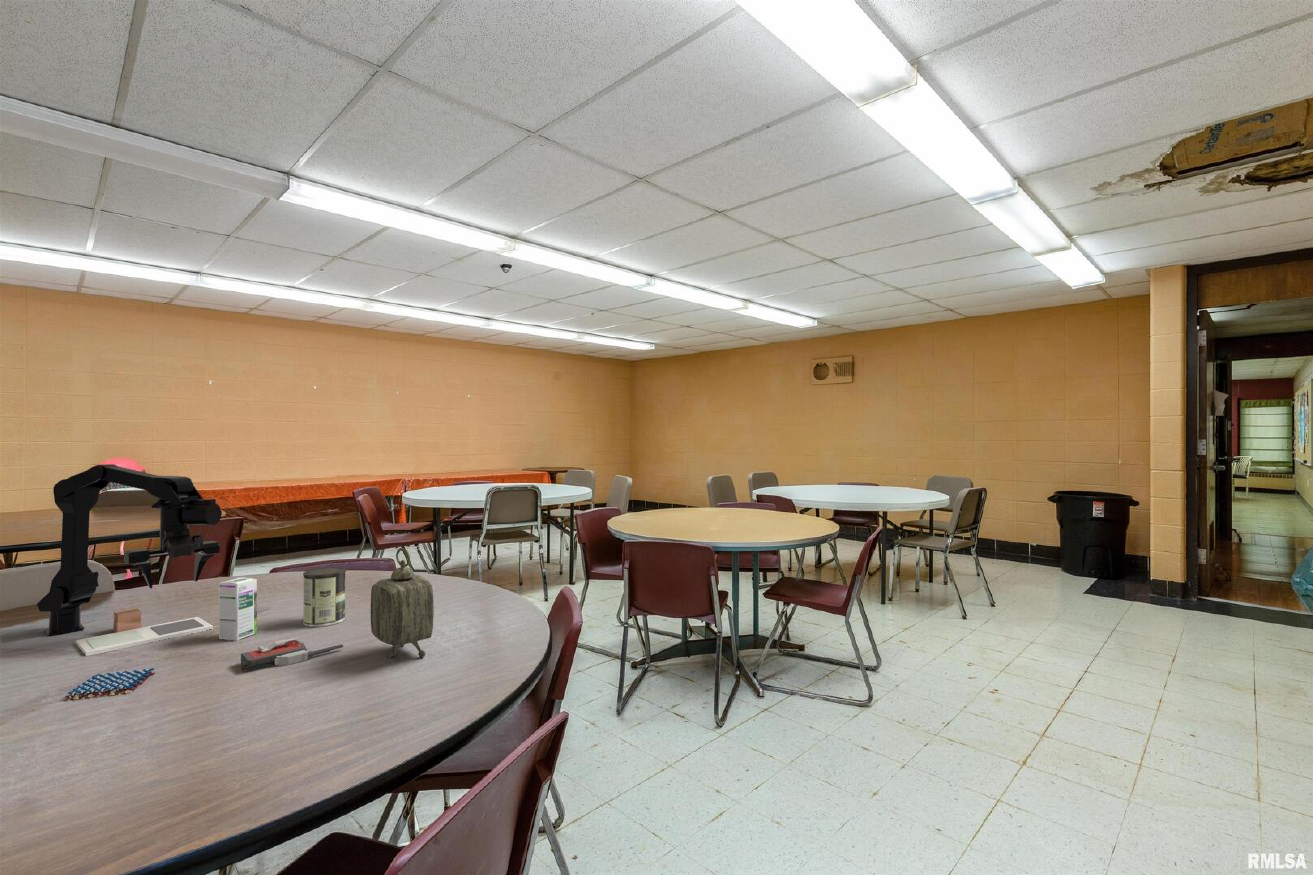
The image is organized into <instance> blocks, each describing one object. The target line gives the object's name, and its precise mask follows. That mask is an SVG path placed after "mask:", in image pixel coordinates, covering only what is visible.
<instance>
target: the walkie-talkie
mask: <svg viewBox="0 0 1313 875" xmlns="http://www.w3.org/2000/svg"><path fill="white" fill-rule="evenodd" d="M342 648H344V644H337V645H332V646H329V647H325V648H320V649H316V650H309V651H307V650H308V646H306V645H305V643H304V642H302V641H301V642H300V641H299V640H297V639H295V638H294V637H289V638H286V639H280V640H276V641H273V642H272V643H270V644H269V645H268V646H267V647H264V646H262V645H261V646H260V645H259V646H258V649H254V650H250V651H247V652H242V653H241V654H240V670H241V671H246V672H254V671H259V670H262V669H265V668H266V669H267V668H270V667H274V666H276V667H281V666H290V665H293V664H298V663H301V662H306V661H308V660H309V658H312V657H314V656H316V655H322V654H326V653H329V652H331V651H335V650H339V649H342Z"/></svg>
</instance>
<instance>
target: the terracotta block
mask: <svg viewBox="0 0 1313 875" xmlns="http://www.w3.org/2000/svg"><path fill="white" fill-rule="evenodd" d="M138 628H142V611H141V610H140V609H139V608H138V607H136V608H129V609H128V608H127V609H124V610H122V609H121V610H116V611H113V632H114V633H117V632H122V631H127V630H132V629H138Z"/></svg>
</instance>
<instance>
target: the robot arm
mask: <svg viewBox="0 0 1313 875" xmlns="http://www.w3.org/2000/svg"><path fill="white" fill-rule="evenodd" d="M111 483H113V484H118V485H122V486H126V487H131V488H135V489H139V490H142V491H143V490H144V491H146V492H147V493H148V494H150V496H151V497H154V498H157V499H158V500H157V501H156V502H154V504H152V505H151V508H152V509H159V511H160V512H159V514H160V515H159V519H160V520H159V549H156V550H155V549H153V550H149V549H147V548H145V547H143V548H135V549H127V550H126V551H125V552H124V553H123V562H125V563H126V564H129V565H133V566H134V567H138V569H139V570H140V572H141V573H142V575H143V577H144V580H145V582H146V583H147V586H148V588H149V589H153V584H154V583H153V581H154V580H153V574H152V562H150V561H149V560H150V559H154V558H161V557H162V558H163V557H170V558H172V559H173V558H174V559H175V558H178V557H183V556H184V557H185V556H187V557H189V556H193V555H194V568H193V570H194V571H193V580H194V582H198V580H199V578H200V576H201V573H202V571H203V569H204V567H205V564H206V563H207V561H208V560H209V559H210V558H213V557H215V554H219V553H221V552H222V551H221V550H222V549H221V543H219V542H218V541H215V540H206V541H205V540H204V536H203V535H202V534H196V535H193V536H191V534H190V532H191V531H190V527H189V526H215V525H217V524H218V523H219V522H220V520H222V517H223V516H222V514H223V511H222V509H221V507H220V505H219V504H218V503H217V501H216V500H217V499H216V498H208V499H205V498H204V497H203V496H202V494H201V493H200V492H199V491H198V489H197V488H196V486H195V485H194V482H193V481H192V479H191V478H190V477H188V476H180V475H158V474H153V473H148V472H143V471H139V470H134V469H131V468H126V467H122V466H118V465H116V464H113V463H112V464H111V463H109V464H108V463H107V464H97V465H96V464H95V465H93V466H92V467H90V468H89V469H87V470H85V471H82V472H79V473H76V474H74V475H71V476H69V477H68V478H64V479H61V480H59V481H58V482H57V483H55V484H54V486H53V489H52V490H53V491H52V492H53V498H54V499H53V500H54V504H55V505H56V507H57V508H58V509H59V511H60V512H61V513H62V522H61V526H62V527H61V547H60V548H61V550H60V567H59V570H58V571H57V573H56V574H55V575H54V577H53V578H52V579H51V582H50V587H49V591H48V593H46V594H45V596H44V597H42V598H41V599H40V600H39V601H38V602H37V604H36V606H37V608H38V611H39V612H48V628H44V632H45V633H46V634H47V636H49V637H50V636H56V635H61V634H66V633H71V632H78V631H81V630H82V631H83V630H84V629H85V626H84V625H83V624H82V623H81V612H82V611H81V610H82V608H81V606H82V605H83V604H88V603H90V602H91V599H92V596H93V595H94V594H95V593H96V591H97V588H98V587H99V586H100V585H99V582H98V581H99V580H98V579H99V572H98V571H92V569H91V568H90V566H89V562H88V560H89V541H90V540H89V538H90V536H89V535H90V534H89V533H90V513H91V510H92V509H93V508H94V507H95V505H96V504H97V502H98V501H99V497H100V492H101V491H103V490H104V489H106V488H107V487H109V486H110V484H111ZM194 553H195V554H194Z"/></svg>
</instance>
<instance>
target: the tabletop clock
mask: <svg viewBox="0 0 1313 875" xmlns="http://www.w3.org/2000/svg"><path fill="white" fill-rule="evenodd" d="M400 552H404V553H405V555H406V558H407V562H406V560H405V559H402V560H400V558H399V554H400ZM410 556H411V555H410V553H409V550H407V549H406V548H404V547H401V548H400V547H399V548H398V549H397V550H396V554H395V558H396V562H397V563H398V565H399V566H400V567H397V568H396V569H394V570H393V571H392V573H391V574H390V575H391V576H390V577H388V578H383V579H379V580H378V581H377V582H376V583H374V584H372V585H371V591H370V629H371V633H372V635H373V636H374V637H375V638H376V639H377V640H379V641H380V642H382V643H385V644H387V645H390V646H392V647H391V650H389V651H388V654H387V656H388V658H393V657H395V656H396V649H395V648H396V647H400V646H401V647H402V646H405V645H406V644H411V645H413V646H414V647H415V648H416V649H417V651H418V653H417V654H418V656H419V658H424V657H425V656H426V651H425V649H421V647H420V645H419V641H424V640H427V639H430V638H432V636H433V630H434V629H433V628H434V607H435V606H434V605H435V604H434V591H433V584H432V583H431V582H430V581H429V580H428V579H427V578H425V577H423V576H422V575H420V574H414V571H413V570H412V568H410V567H408V566H409V565H410V562H411V557H410Z"/></svg>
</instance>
